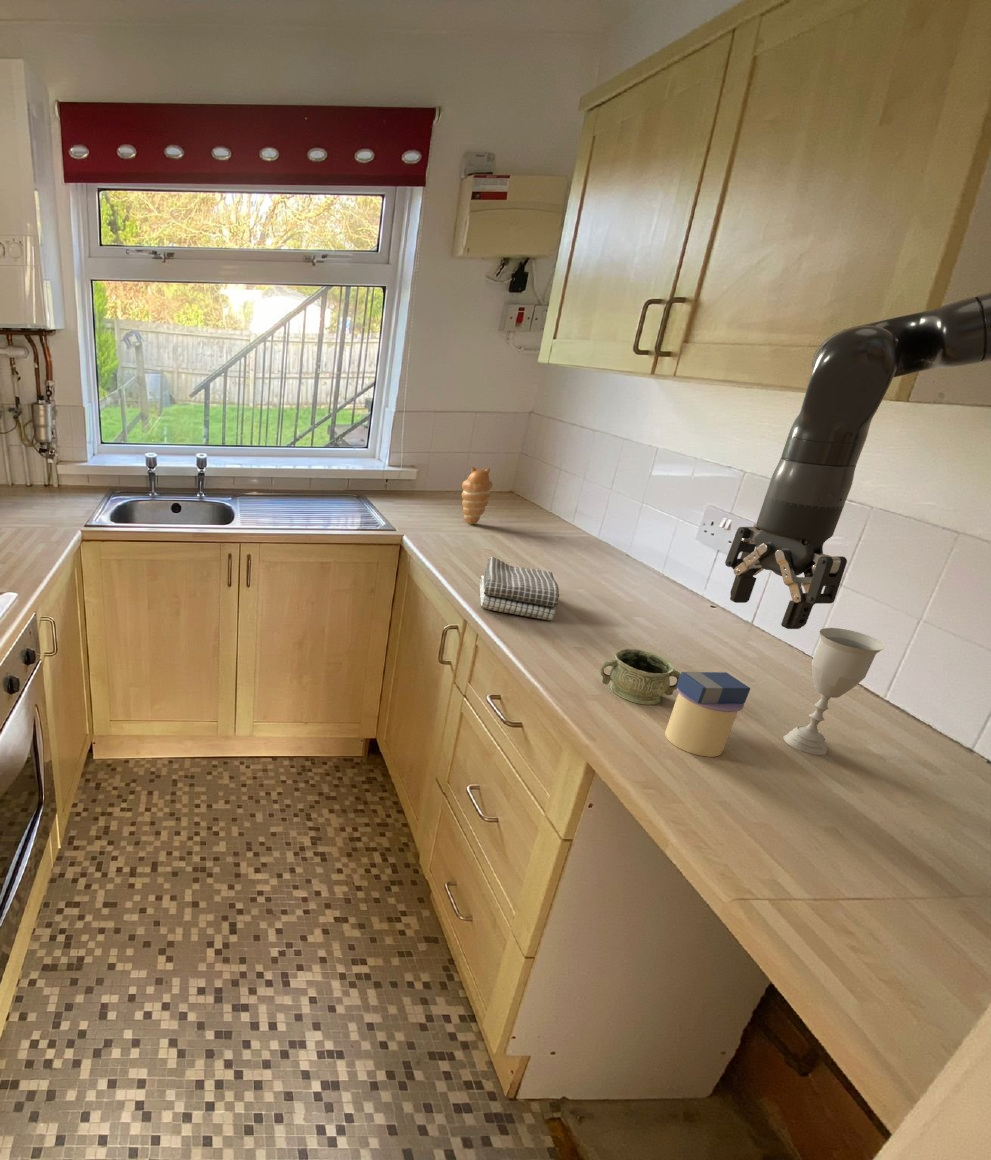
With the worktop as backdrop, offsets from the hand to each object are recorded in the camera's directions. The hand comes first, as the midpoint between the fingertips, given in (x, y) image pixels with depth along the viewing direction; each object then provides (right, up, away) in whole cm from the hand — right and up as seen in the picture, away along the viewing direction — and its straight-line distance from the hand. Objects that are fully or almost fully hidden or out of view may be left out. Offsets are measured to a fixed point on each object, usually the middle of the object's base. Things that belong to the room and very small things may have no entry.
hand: (763, 614), depth 86 cm
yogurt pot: (-1, -20, +11) cm, 23 cm away
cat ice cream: (+7, +22, +117) cm, 119 cm away
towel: (-6, -1, +59) cm, 59 cm away
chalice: (+16, -21, +11) cm, 28 cm away
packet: (-1, -12, +8) cm, 15 cm away
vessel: (-2, -15, +24) cm, 28 cm away
